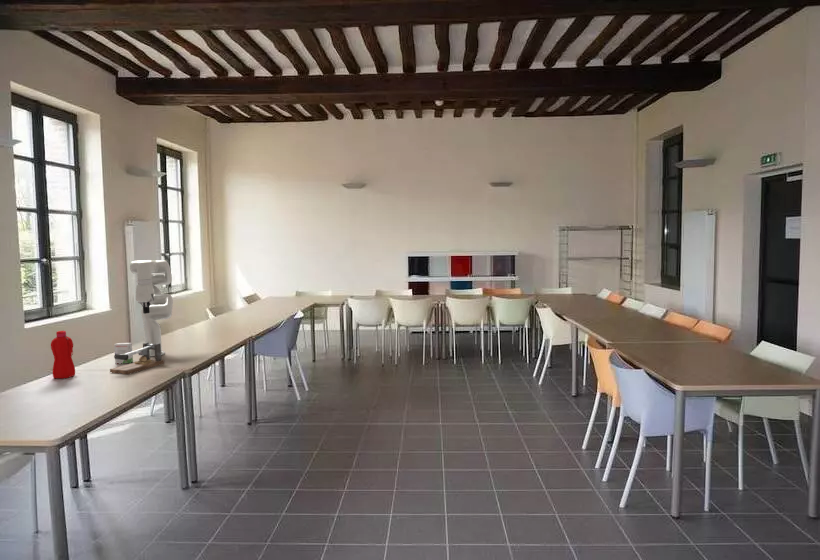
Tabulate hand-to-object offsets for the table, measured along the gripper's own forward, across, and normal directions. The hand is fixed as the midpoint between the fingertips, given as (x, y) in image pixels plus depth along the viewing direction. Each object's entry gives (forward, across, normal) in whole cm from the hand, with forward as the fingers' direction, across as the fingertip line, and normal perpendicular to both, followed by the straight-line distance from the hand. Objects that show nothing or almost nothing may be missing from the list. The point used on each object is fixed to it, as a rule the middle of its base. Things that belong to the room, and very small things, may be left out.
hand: (146, 313), depth 334 cm
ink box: (+29, -12, -7) cm, 32 cm away
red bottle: (+29, -16, -42) cm, 54 cm away
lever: (+22, +6, -15) cm, 28 cm away
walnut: (+25, +6, -11) cm, 28 cm away
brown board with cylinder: (+29, +6, -15) cm, 33 cm away
